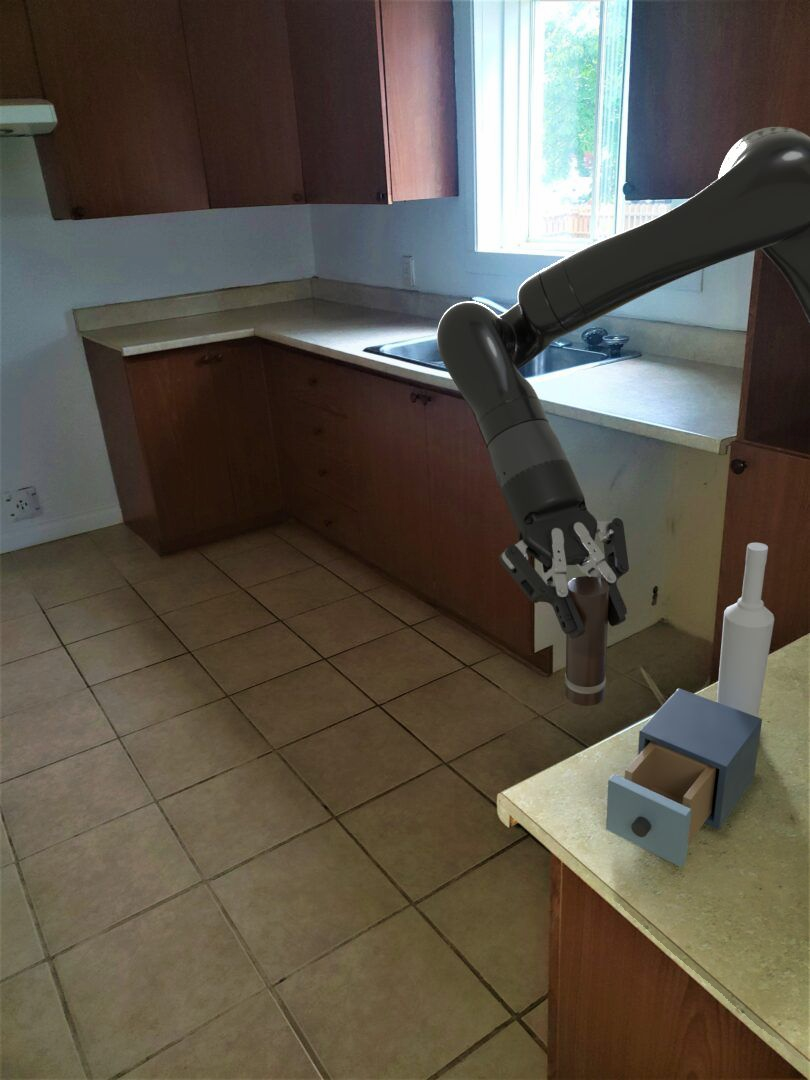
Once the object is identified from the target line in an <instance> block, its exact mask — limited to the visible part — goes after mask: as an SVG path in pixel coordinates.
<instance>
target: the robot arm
mask: <svg viewBox="0 0 810 1080" xmlns="http://www.w3.org/2000/svg"><path fill="white" fill-rule="evenodd" d="M758 250H762V251H763V253H764V254H765V255H766V256H767V257H768V258H769V260H771V262H772V263H773V264H774V265H775V266H776V267H777V269H778V270H779V271H780V273H781V274H782V275H783V277H784V278H785V280H786V281H787V282H788V284H789V286H790V287H791V289H792V291H793V293H794V294H795V296H796V299H797V300H798V302H799V304H800V306H801V308H802V310H803V312H804V314H805V316H806V318H807V320H808V322H809V323H810V136H809V135H807V134H806V133H804V132H802V131H800V130H797V129H796V128H792V127H786V126H769V127H763V128H760V129H757V130H754V131H752V132H750V133H747V134H746V135H744V136H743V137H742V138H740V139H739V140H738V141H737V142H736V143H735V144H734V145H733V146H732V147H731V148H730V149H729V150H728V152H727V154H726V155H725V158H724V160H723V162H722V164H721V167H720V170H719V173H718V178H717V179H716V180H714V181H713V182H711V183H710V184H709V185H708V186H706V187H705V188H703V189H702V190H701V191H699V192H698V193H697V194H695V195H694V196H692V197H690V198H689V199H688V200H686V201H684V202H683V203H681V204H679V205H678V206H676V207H674V208H673V209H671V210H669V211H667V212H665V213H663V214H661V215H659V216H657V217H655V218H653V219H651V220H648V221H646V222H644V223H641V224H639V225H637V226H634V227H631V228H630V229H627V230H624V231H622V232H619V233H616V234H614V235H611V236H608V237H606V238H603V239H601V240H598V241H596V242H594V243H591V244H589V245H586V246H585V247H582V248H580V249H579V250H576V251H575V252H573V253H570V254H569V255H567V256H565V257H564V258H562V259H560V260H558V261H557V262H555V263H553V264H551V265H550V266H548V267H546V268H543V269H542V270H540V271H539V272H537V273H535V274H533V275H532V276H530V277H528V278H527V279H525V281H524V282H523V283H522V284H521V285H520V286H519V288H518V291H517V303H516V304H514V305H513V306H511V308H509V309H508V310H506V311H505V312H504V313H501V314H499V315H498V314H497V313H496V312H494V311H493V310H492V309H490V308H489V307H487V306H486V305H484V304H482V303H479V302H476V301H461V302H458V303H456V304H453V305H452V306H450V307H449V308H448V309H447V310H446V311H445V312H444V313H443V315H442V316H441V318H440V320H439V323H438V326H437V331H436V342H437V349H438V352H439V356H440V358H441V361H442V363H443V365H444V367H445V369H446V372H447V373H448V375H449V376H450V378H451V379H452V381H453V383H454V385H455V386H456V388H457V390H458V391H459V393H460V394H461V396H462V398H463V399H464V400H465V402H466V404H467V405H468V407H469V408H470V410H471V413H472V414H473V416H474V419H475V422H476V426H477V428H478V430H479V433H480V435H481V438H482V440H483V443H484V445H485V448H486V451H487V453H488V455H489V461H490V465H491V468H492V471H493V474H494V476H495V481H496V484H497V485H498V487H499V489H500V491H501V494H502V496H503V499H504V501H505V503H506V506H507V509H508V511H509V513H510V516H511V519H512V521H513V523H514V526H515V527H516V528H517V529H518V542H516V543H515V544H510V545H509V546H507V547H506V549H504V551H503V552H502V553H501V554H500V555H499V556H498V560H499V562H500V563H501V565H502V566H503V568H504V569H505V570H506V572H507V573H508V574H509V575H510V576H511V578H512V579H513V580H514V582H515V583H516V584H517V585H518V586H519V588H520V590H522V592H523V593H524V594H525V596H526V598H528V599H529V601H530V602H532V603H534V604H537V603H539V602H540V603H548V604H549V605H550V606H551V607H552V609H553V611H554V613H555V616H556V618H557V621H558V623H559V627H560V628H561V631H562V632H563V633H564V634H565V635H566V634H569V636H570V637H571V638H572V639H573V638H576V637H579V636H581V635H582V634H584V633H585V627H584V625H583V623H582V620H581V618H580V615H579V613H578V610H577V608H576V606H575V603H574V601H573V598H572V596H570V597H568V596H567V595H568V587H567V584H568V581H567V573H568V566H576V567H577V569H578V570H579V571H580V572H581V574H583V575H585V576H592V577H597V578H600V579H603V580H605V581H606V582H607V583H608V585H609V605H608V625H610V627H615V626H618V625H621V624H622V623H624V622H625V621H626V620H627V618H626V615H627V614H628V611H627V606H626V604H625V601H624V599H623V597H622V595H621V592H620V589H619V587H618V585H617V582H618V580H619V579H620V578H621V577H622V576H624V575H625V574H627V573H628V572H629V570H630V565H629V558H628V549H627V543H626V542H627V541H626V533H625V526H624V522H623V520H622V519H621V518H619V517H615V518H613V519H612V520H610V521H608V520H597V518H596V517H595V515H593V514H592V513H591V512H590V511H589V510H588V508H587V504H586V499H585V495H584V493H583V491H582V488H581V486H580V484H579V482H578V479H577V477H576V474H575V472H574V470H573V468H572V465H571V463H570V461H569V458H568V456H567V454H566V451H565V449H564V447H563V445H562V442H561V441H560V439H559V437H558V435H557V434H556V432H555V431H554V429H553V427H552V425H551V423H550V420H549V419H548V416H547V414H546V412H545V410H544V407H543V405H542V402H541V400H540V399H539V397H538V393H537V392H536V390H535V389H534V386H532V384H531V383H530V382H529V381H528V380H527V378H525V377H524V376H523V375H522V373H520V371H519V370H520V369H521V368H524V366H526V365H528V364H529V363H531V361H532V360H534V359H535V358H536V357H538V355H540V354H541V353H543V351H545V350H546V349H547V348H548V347H549V346H551V344H552V343H554V342H555V341H556V340H558V339H560V338H562V337H565V336H566V335H569V334H570V333H572V332H575V331H576V330H578V329H581V328H582V327H584V326H587V325H589V324H590V323H592V322H594V321H596V320H598V319H600V318H602V317H604V316H605V315H607V314H610V313H611V312H613V311H615V310H617V309H619V308H621V307H623V306H625V305H627V304H629V303H630V302H632V301H635V300H637V299H639V298H641V297H642V296H645V295H647V294H649V293H651V292H653V291H655V290H656V289H659V288H662V287H663V286H666V285H668V284H671V283H672V282H675V281H677V280H679V279H682V278H684V277H687V276H689V275H691V274H694V273H696V272H699V271H701V270H703V269H706V268H709V267H711V266H713V265H714V266H715V265H717V264H720V263H722V262H724V261H728V260H731V259H734V258H737V257H740V256H744V255H746V254H748V253H749V254H750V253H751V252H755V251H758ZM596 535H597V536H598V538H599V542H600V543H603V551H604V553H603V551H602V550H601V549H600V547H599V546H598V545H597V543H596V541H595V539H596ZM528 554H529V555H530V556H531V557H532V558H534V559H536V560H537V561H538V562H539V564H540V565H539V566H540V572H541V576H540V574H539V572H538V571H537V570H536V569H535V567H534V566H533V565H532V564H531V563H530V561H529V555H528ZM588 558H589V559H588Z"/></svg>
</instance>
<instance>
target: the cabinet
mask: <svg viewBox="0 0 810 1080" xmlns="http://www.w3.org/2000/svg"><path fill="white" fill-rule="evenodd" d="M762 723H763V718H762V717H759V716H758V717H756V716H753V715H750V714H748V713H745V712H742V711H739V710H737V709H734V708H731V707H728V706H726V705H723V704H720V703H718V702H717V701H715V700H712V699H709V698H706V697H704V696H701V695H698V694H696V693H693V692H690V691H688V690H685V689H682V688H680V687H679V688H677V689H676V690H675V692H674V693H673V694H672V695H671V696H670V697H669V698H668V699H667V700H666V701H665V702H664V703H663V704H662V706H661V707H659V709H658V710H657V711H656V712H655V713H654V714H653V716H651V718H650V719H649V720H648V721H647V722H646V723H645V724H644V725H643V726H642V728H641V729H640V730H639V732H638V734H639V736H638V749H637V756H638V755H639V754H640V753H641V752H642V751H643V750H644V748H645V747H646V746H647V745H648V744H649V743H650V742H651V741H653V742H655V743H658V744H660V745H662V746H665V747H667V748H670V749H672V750H674V751H677V752H679V753H681V754H684V755H686V756H689V757H691V758H693V759H696V760H698V761H701V762H703V763H705V764H708V765H710V766H713V767H715V768H716V776H715V785H714V794H713V802H712V811H711V814H710V816H709V817H708V818H707V820H706V821H705V823H704V824H705V825H708V826H710V827H712V828H714V829H716V830H719V831H720V829H721V828H722V826H723V825H724V824H725V822H726V820H727V819H728V818H729V816H730V815H731V813H732V812H733V810H734V809H735V807H736V806H737V804H738V803H739V802H740V800H741V799H742V797H743V796H744V794H745V793H746V792H747V790H748V788H749V787H750V786H751V784H752V783H753V781H754V780H755V774H756V773H755V772H756V767H757V759H758V751H759V744H760V737H761V733H762V731H761V730H762Z"/></svg>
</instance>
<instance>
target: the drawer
mask: <svg viewBox="0 0 810 1080" xmlns="http://www.w3.org/2000/svg"><path fill="white" fill-rule="evenodd" d="M715 776H716V768H715V767H713V766H710V765H708V764H705V763H703V762H701V761H698V760H696V759H693V758H691V757H689V756H686V755H684V754H681V753H679V752H677V751H674V750H672V749H670V748H667V747H665V746H662V745H660V744H658V743H655V742H653V741H651V742H650V743H649V744H648V745H647V746H646V747H645V748H644V750H643V751H642V752H641V753H640V754H639V755H638V754H637V756H636V757H635V758H634V760H632V762H631V763H630V764H629V765H628V766H627V768H625V770H624V777H622V776H620V775H618V774H616V773H613V774H612V775H611V776H610V777H609V779H608V780H607V796H606V797H607V801H606V823H605V824H606V825H605V830H607V831H609V832H610V833H613V834H615V835H616V836H617V837H620V838H622V839H624V840H626V841H628V842H630V843H631V844H634V845H636V846H637V847H640V848H641V849H644V850H646V851H648V852H649V853H652V854H653V855H656V856H657V857H659V858H661V859H663V860H665V861H667V862H669V863H671V864H672V865H675V866H677V867H679V868H682V867H683V866H684V865H685V863H686V861H687V858H688V847H689V845H690V844H691V842H692V841H693V839H694V838H695V837H696V835H697V834H698V832H699V831H700V829H702V827H703V825H704V824H705V821H706V820H707V818H708V817H709V816H710V814H711V811H712V802H713V794H714V785H715Z"/></svg>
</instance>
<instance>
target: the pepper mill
mask: <svg viewBox="0 0 810 1080" xmlns="http://www.w3.org/2000/svg"><path fill="white" fill-rule="evenodd" d="M567 587H568V595H567V596H568V597H570V596H572V598H573V601H574V603H575V606H576V608H577V610H578V613H579V615H580V618H581V620H582V623H583V625H584V627H585V633H584V634H582V635H581V636H579V637H576V638H573V639H572V638H571V637H570V636H569V634H565V636H566V637H565V674H564V683H565V691H564V692H565V698H566V699H567V700H568V701H569V702H570V703H572V704H574V705H577V706H580V707H592V706H597V705H600V704H601V703H602V702H603V701H604V699H605V696H606V684H607V653H608V652H607V650H608V625H609V622H608V605H609V585H608V583H607V582H606V581H605V580H603V579H600V578H597V577H592V576H587V575H582V576H577V577H574V578H571V579H570V580H569V581H567Z"/></svg>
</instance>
